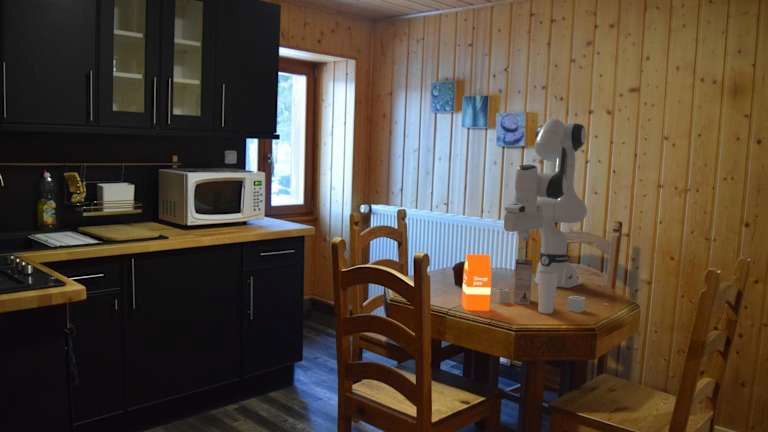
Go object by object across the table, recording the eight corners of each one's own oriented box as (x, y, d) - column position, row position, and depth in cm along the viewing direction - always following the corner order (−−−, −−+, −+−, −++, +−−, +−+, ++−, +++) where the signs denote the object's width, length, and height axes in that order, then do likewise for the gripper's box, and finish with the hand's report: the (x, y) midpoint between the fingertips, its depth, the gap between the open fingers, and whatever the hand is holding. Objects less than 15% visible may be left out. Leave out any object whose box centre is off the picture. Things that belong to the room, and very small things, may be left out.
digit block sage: (501, 300, 256) (501, 287, 256) (509, 303, 252) (510, 289, 251) (490, 301, 254) (491, 288, 253) (499, 304, 249) (499, 290, 249)
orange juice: (489, 310, 238) (492, 256, 236) (465, 310, 237) (468, 256, 235) (484, 305, 246) (487, 253, 244) (461, 305, 245) (464, 252, 243)
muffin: (479, 283, 287) (480, 261, 286) (477, 288, 276) (478, 265, 275) (452, 281, 290) (454, 259, 289) (449, 285, 279) (450, 262, 278)
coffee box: (513, 298, 260) (515, 258, 258) (529, 299, 259) (532, 259, 257) (513, 303, 251) (515, 262, 249) (530, 304, 250) (532, 263, 248)
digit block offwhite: (571, 308, 247) (572, 295, 246) (584, 310, 244) (585, 297, 244) (566, 310, 243) (567, 297, 242) (579, 313, 240) (580, 299, 240)
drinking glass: (533, 310, 241) (536, 270, 240) (551, 310, 242) (554, 270, 240) (539, 314, 235) (542, 273, 233) (557, 315, 235) (560, 274, 234)
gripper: (535, 204, 263) (533, 238, 265) (501, 207, 251) (500, 242, 252) (548, 205, 258) (546, 240, 260) (514, 208, 246) (512, 244, 248)
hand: (523, 241), depth 256 cm, fingers closed
